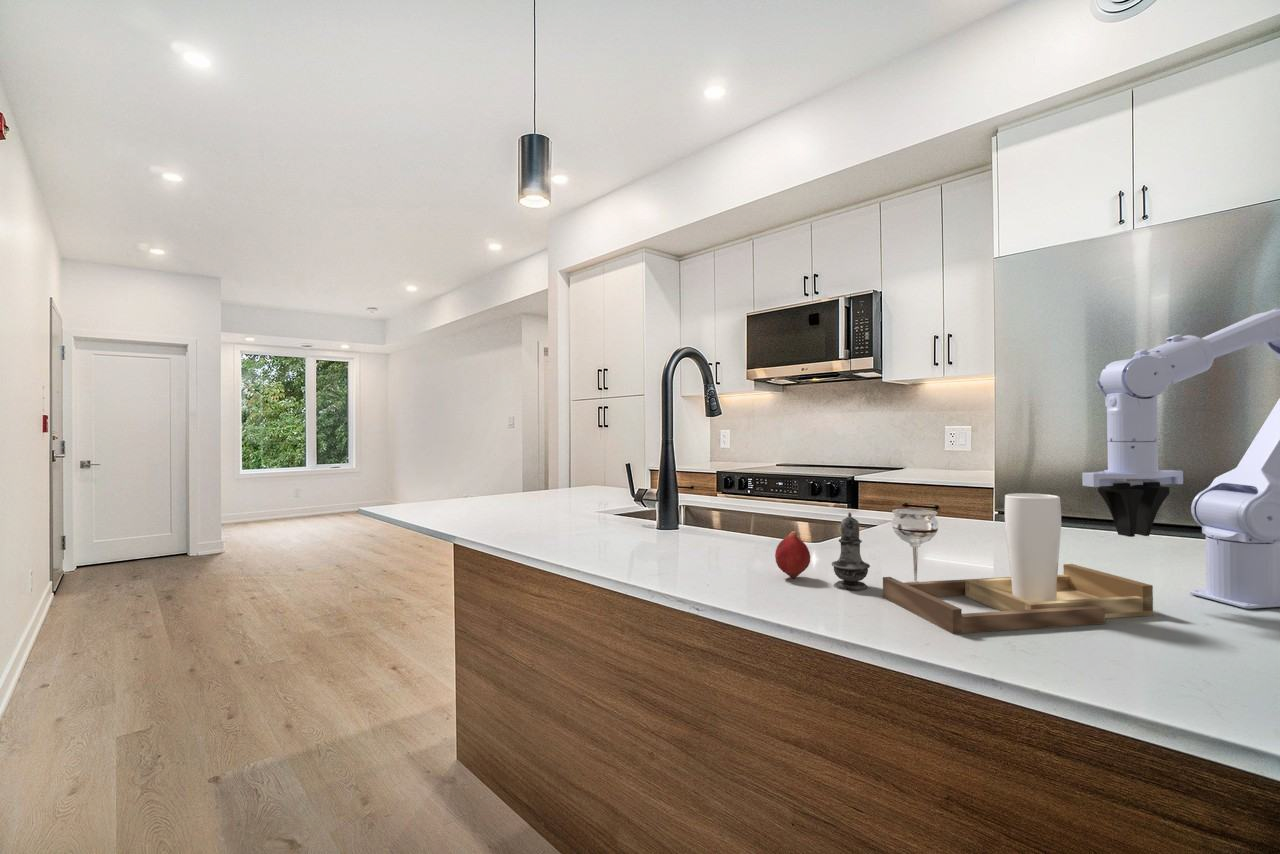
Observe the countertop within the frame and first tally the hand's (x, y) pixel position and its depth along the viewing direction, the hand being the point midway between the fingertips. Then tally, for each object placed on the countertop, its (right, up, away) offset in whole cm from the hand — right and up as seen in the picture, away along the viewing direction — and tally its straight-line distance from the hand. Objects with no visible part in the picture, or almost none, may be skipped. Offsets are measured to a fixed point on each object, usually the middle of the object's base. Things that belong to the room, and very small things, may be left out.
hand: (1133, 535), depth 89 cm
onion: (-45, -10, +16) cm, 49 cm away
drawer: (-13, -10, -2) cm, 16 cm away
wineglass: (-27, -10, +9) cm, 31 cm away
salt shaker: (-38, -10, +10) cm, 40 cm away
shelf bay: (-23, -10, -3) cm, 25 cm away
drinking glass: (-16, -9, -2) cm, 18 cm away
